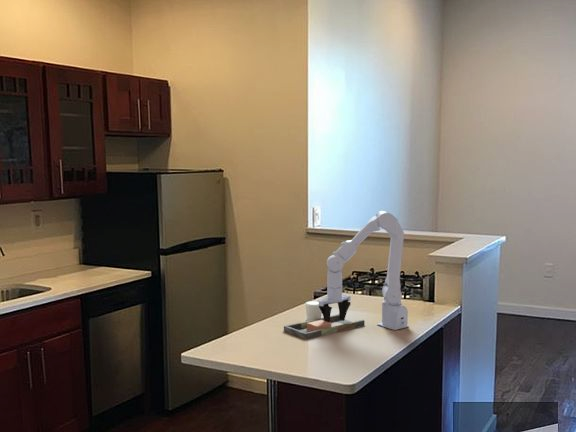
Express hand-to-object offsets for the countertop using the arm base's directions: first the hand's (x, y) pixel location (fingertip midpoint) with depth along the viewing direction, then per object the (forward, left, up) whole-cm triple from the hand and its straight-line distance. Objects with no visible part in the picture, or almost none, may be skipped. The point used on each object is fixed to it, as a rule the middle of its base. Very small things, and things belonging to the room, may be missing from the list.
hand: (334, 321), depth 233 cm
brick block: (0, +8, -2) cm, 8 cm away
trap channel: (0, +4, -2) cm, 5 cm away
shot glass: (+12, 0, -2) cm, 12 cm away
